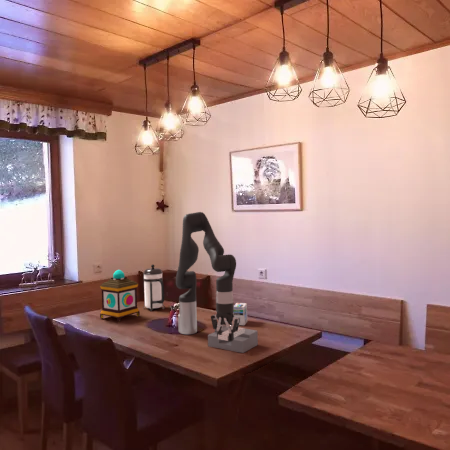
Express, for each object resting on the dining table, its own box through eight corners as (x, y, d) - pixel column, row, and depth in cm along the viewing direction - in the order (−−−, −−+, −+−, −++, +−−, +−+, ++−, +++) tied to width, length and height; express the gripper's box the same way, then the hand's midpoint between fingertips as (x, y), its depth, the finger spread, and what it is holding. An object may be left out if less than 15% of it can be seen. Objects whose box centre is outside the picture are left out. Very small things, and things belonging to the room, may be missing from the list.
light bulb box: (244, 325, 251) (244, 306, 250) (233, 325, 252) (232, 306, 251) (247, 320, 261) (247, 302, 261) (236, 320, 262) (236, 302, 262)
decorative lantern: (96, 319, 272) (95, 270, 270) (121, 312, 288) (119, 266, 287) (118, 323, 260) (117, 273, 259) (143, 316, 277) (141, 268, 275)
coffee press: (138, 311, 289) (137, 266, 288) (147, 306, 305) (145, 262, 303) (164, 312, 286) (163, 266, 285) (171, 306, 302) (170, 262, 301)
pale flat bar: (218, 339, 190) (217, 334, 190) (235, 330, 201) (235, 326, 201) (227, 340, 187) (227, 336, 187) (244, 332, 199) (244, 328, 198)
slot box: (208, 346, 215) (207, 332, 215) (223, 338, 227) (223, 325, 227) (243, 353, 204) (242, 338, 204) (257, 344, 216) (257, 330, 216)
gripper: (206, 301, 190) (206, 340, 191) (234, 304, 182) (235, 345, 183) (215, 298, 196) (216, 335, 197) (243, 301, 188) (244, 340, 189)
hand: (225, 340), depth 190 cm, fingers closed on pale flat bar, 5 cm apart
